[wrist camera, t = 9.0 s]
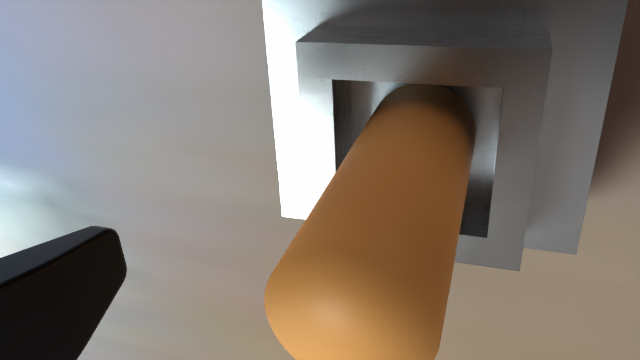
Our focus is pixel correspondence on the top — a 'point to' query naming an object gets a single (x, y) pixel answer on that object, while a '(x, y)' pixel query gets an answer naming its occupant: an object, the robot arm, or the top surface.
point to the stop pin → (380, 237)
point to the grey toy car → (468, 84)
